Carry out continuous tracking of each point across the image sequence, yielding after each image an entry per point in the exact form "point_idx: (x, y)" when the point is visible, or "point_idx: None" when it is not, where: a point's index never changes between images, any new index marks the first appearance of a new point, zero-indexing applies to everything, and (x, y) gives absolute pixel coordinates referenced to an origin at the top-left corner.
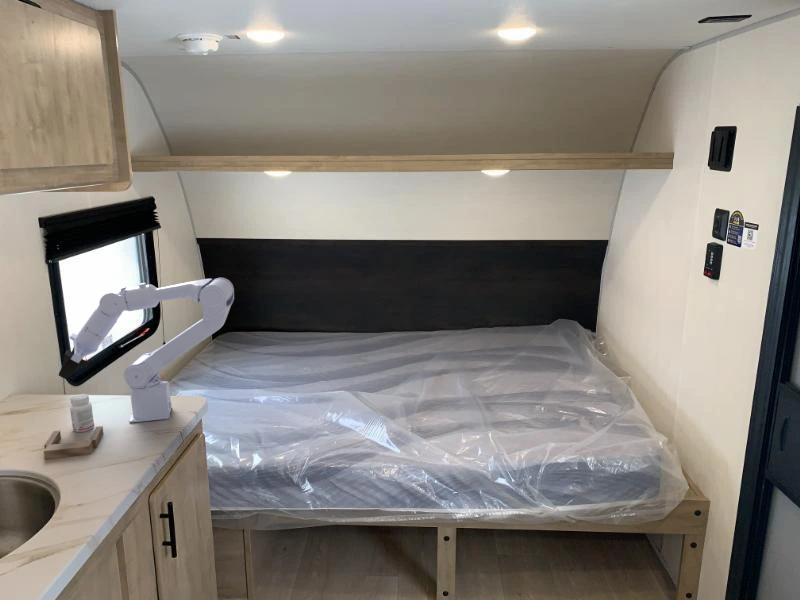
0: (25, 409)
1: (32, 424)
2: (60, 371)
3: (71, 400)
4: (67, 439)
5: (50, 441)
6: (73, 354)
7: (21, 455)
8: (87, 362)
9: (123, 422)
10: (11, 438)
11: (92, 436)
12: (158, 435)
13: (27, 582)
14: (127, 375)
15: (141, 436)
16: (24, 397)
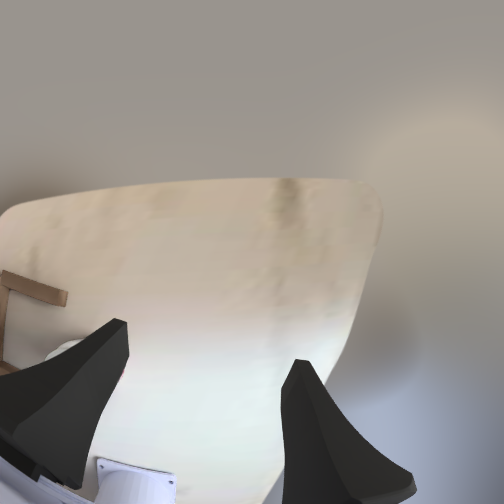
0: (299, 214)
1: (186, 234)
2: (96, 332)
3: (52, 351)
4: (53, 320)
5: (12, 283)
6: (22, 453)
7: (27, 227)
8: (68, 486)
9: (108, 447)
10: (122, 196)
11: (5, 373)
12: None
13: None
14: None
15: None
16: (368, 211)
